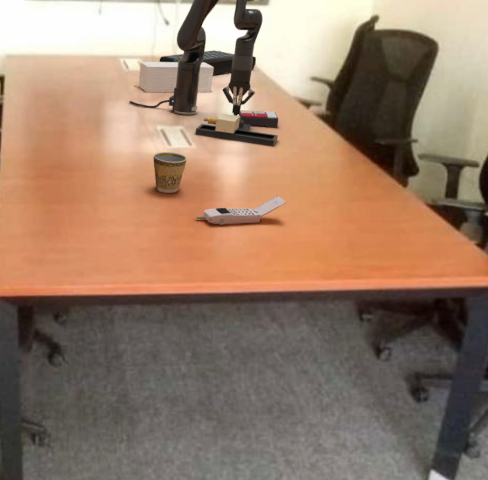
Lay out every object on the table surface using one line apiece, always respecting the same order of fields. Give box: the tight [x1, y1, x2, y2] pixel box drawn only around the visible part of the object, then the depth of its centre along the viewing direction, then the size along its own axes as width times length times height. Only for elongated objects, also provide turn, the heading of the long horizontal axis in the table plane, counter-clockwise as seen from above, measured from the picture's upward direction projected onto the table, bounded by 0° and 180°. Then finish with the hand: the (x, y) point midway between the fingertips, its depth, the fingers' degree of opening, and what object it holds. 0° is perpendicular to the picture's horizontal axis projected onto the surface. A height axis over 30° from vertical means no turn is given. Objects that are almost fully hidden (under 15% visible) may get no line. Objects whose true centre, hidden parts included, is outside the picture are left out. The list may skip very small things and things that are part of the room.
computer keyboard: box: [159, 50, 257, 76], centre depth 400 cm, size 45×28×7 cm, turn 134°
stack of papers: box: [138, 61, 214, 93], centre depth 352 cm, size 32×11×11 cm, turn 107°
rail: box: [194, 123, 279, 147], centre depth 290 cm, size 30×8×2 cm, turn 71°
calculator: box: [238, 109, 279, 129], centre depth 310 cm, size 11×4×15 cm
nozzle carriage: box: [203, 113, 240, 134], centre depth 290 cm, size 13×9×6 cm
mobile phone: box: [196, 195, 287, 226], centre depth 215 cm, size 6×6×25 cm
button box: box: [238, 119, 252, 131], centre depth 301 cm, size 12×9×3 cm
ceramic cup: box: [153, 151, 187, 194], centre depth 234 cm, size 13×10×10 cm
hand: (235, 114), depth 299 cm, fingers closed
